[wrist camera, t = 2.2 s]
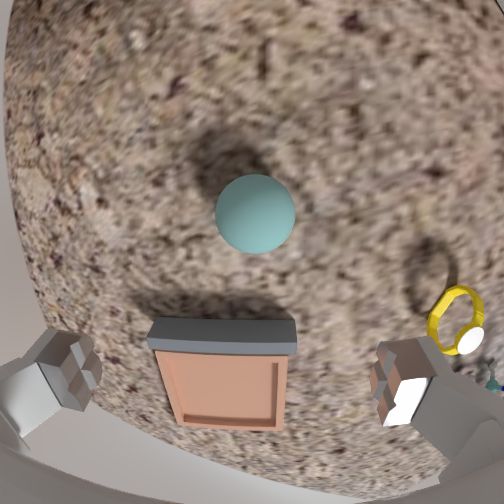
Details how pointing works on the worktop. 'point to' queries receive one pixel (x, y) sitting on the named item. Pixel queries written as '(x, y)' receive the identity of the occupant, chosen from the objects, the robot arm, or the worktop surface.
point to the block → (223, 336)
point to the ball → (255, 213)
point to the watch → (467, 335)
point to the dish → (225, 389)
